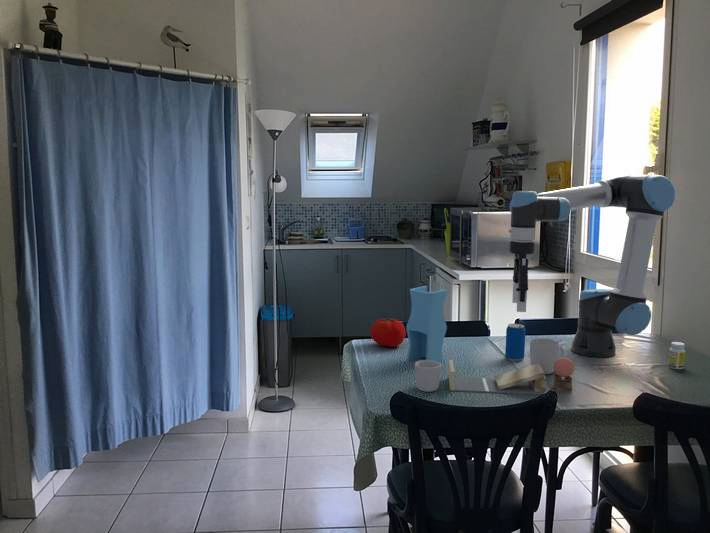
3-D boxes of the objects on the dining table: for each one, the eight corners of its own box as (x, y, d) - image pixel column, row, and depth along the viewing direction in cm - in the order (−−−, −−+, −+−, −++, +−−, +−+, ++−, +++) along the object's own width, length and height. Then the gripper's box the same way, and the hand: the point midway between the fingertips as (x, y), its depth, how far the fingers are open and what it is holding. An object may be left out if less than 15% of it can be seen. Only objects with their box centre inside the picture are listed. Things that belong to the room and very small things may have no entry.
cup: (410, 382, 199) (410, 357, 197) (435, 381, 199) (436, 356, 198) (416, 394, 188) (417, 368, 187) (443, 393, 189) (444, 367, 188)
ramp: (539, 383, 199) (540, 363, 198) (545, 393, 190) (546, 372, 189) (494, 381, 200) (495, 361, 199) (497, 391, 191) (498, 370, 190)
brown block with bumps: (568, 386, 196) (569, 372, 195) (572, 391, 191) (573, 377, 190) (553, 386, 196) (554, 372, 195) (556, 391, 192) (557, 376, 191)
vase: (445, 360, 221) (447, 289, 218) (428, 366, 214) (430, 293, 211) (422, 354, 228) (424, 285, 224) (405, 360, 221) (407, 289, 217)
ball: (571, 374, 196) (572, 355, 195) (575, 380, 190) (577, 360, 189) (551, 373, 196) (552, 354, 195) (555, 379, 190) (556, 360, 189)
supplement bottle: (682, 366, 217) (684, 342, 216) (684, 370, 213) (687, 345, 212) (667, 364, 219) (669, 340, 218) (669, 368, 214) (671, 344, 213)
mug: (541, 377, 205) (542, 346, 203) (523, 369, 213) (524, 339, 211) (572, 372, 210) (574, 342, 208) (553, 364, 218) (555, 336, 216)
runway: (545, 381, 200) (546, 363, 199) (553, 395, 188) (554, 375, 187) (448, 378, 203) (448, 359, 202) (450, 390, 191) (450, 371, 190)
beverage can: (524, 362, 220) (526, 328, 218) (505, 361, 222) (506, 327, 220) (523, 356, 227) (525, 323, 225) (504, 355, 228) (506, 322, 226)
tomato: (411, 344, 241) (411, 317, 239) (395, 352, 231) (395, 323, 229) (380, 339, 248) (381, 312, 246) (364, 346, 238) (364, 319, 236)
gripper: (506, 236, 213) (503, 298, 216) (513, 244, 189) (510, 315, 192) (529, 236, 212) (526, 299, 215) (540, 245, 187) (536, 316, 191)
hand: (518, 307), depth 203 cm, fingers open, 13 cm apart
